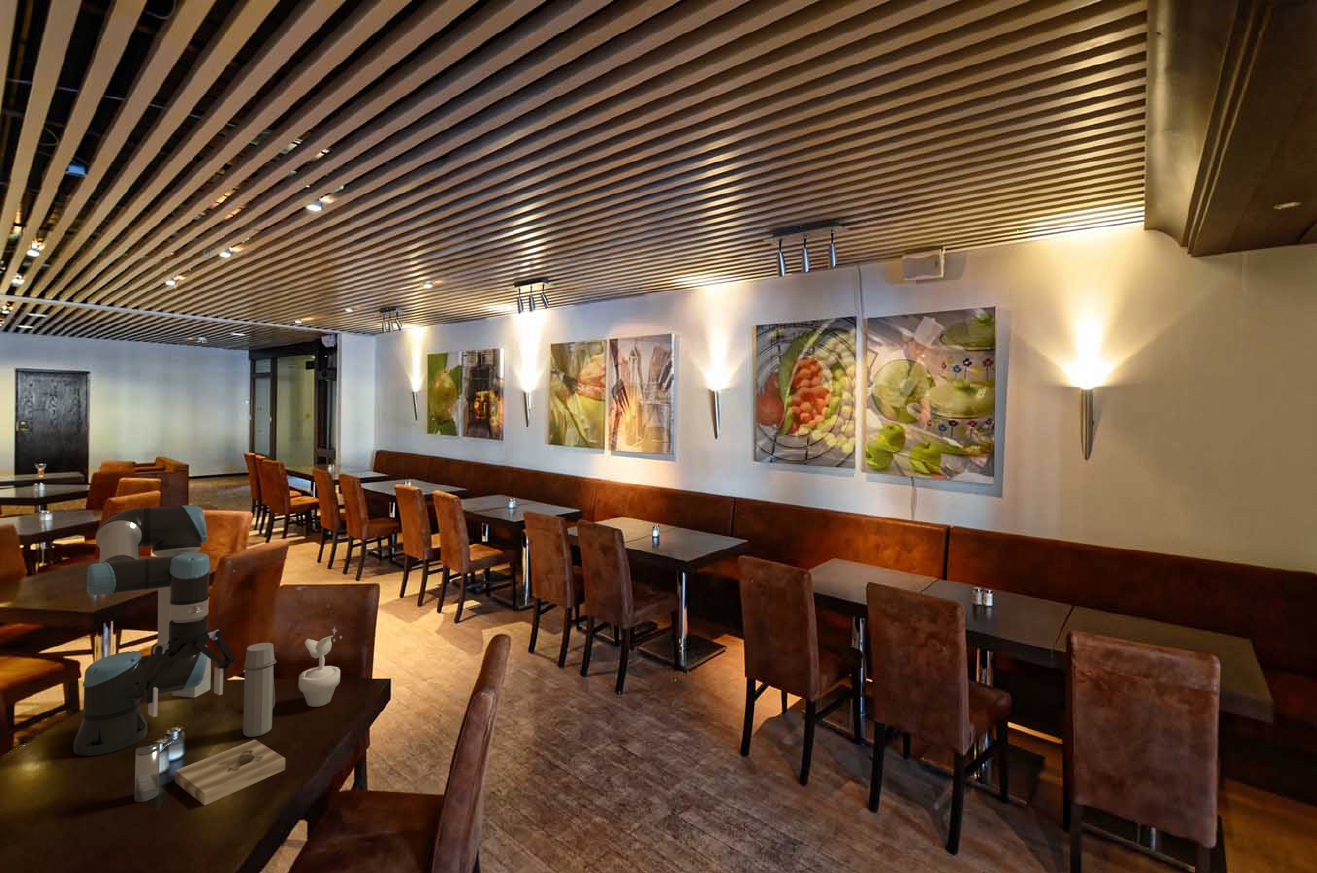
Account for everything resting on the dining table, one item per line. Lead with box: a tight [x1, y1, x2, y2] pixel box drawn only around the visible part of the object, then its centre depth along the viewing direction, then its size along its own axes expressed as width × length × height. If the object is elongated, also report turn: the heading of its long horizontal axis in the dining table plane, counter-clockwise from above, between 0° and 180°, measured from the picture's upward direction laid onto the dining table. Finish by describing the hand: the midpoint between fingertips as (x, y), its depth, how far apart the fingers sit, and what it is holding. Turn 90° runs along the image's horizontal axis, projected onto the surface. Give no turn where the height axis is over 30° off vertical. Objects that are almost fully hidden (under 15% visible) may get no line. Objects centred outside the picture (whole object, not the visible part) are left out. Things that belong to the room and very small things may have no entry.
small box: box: [171, 657, 212, 699], centre depth 196 cm, size 8×6×13 cm
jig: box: [174, 739, 286, 806], centre depth 152 cm, size 16×18×3 cm
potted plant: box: [298, 625, 343, 708], centre depth 193 cm, size 13×12×25 cm
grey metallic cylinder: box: [134, 741, 161, 803], centre depth 143 cm, size 4×4×12 cm
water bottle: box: [242, 642, 277, 738], centre depth 174 cm, size 9×8×25 cm
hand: (186, 704), depth 146 cm, fingers open, 13 cm apart
